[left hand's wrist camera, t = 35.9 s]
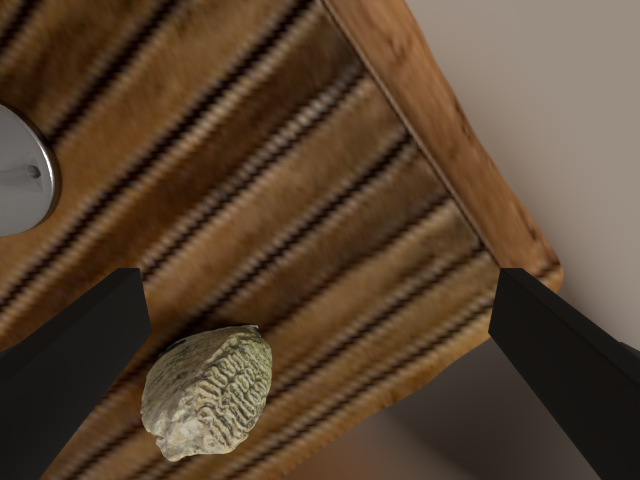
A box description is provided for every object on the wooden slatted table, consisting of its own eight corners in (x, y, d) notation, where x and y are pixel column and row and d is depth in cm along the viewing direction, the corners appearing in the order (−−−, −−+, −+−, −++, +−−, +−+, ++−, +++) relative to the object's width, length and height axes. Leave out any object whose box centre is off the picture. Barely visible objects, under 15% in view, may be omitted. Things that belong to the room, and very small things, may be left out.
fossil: (289, 342, 46) (276, 443, 32) (185, 402, 50) (132, 515, 36) (248, 294, 44) (215, 379, 30) (142, 360, 47) (67, 465, 33)
